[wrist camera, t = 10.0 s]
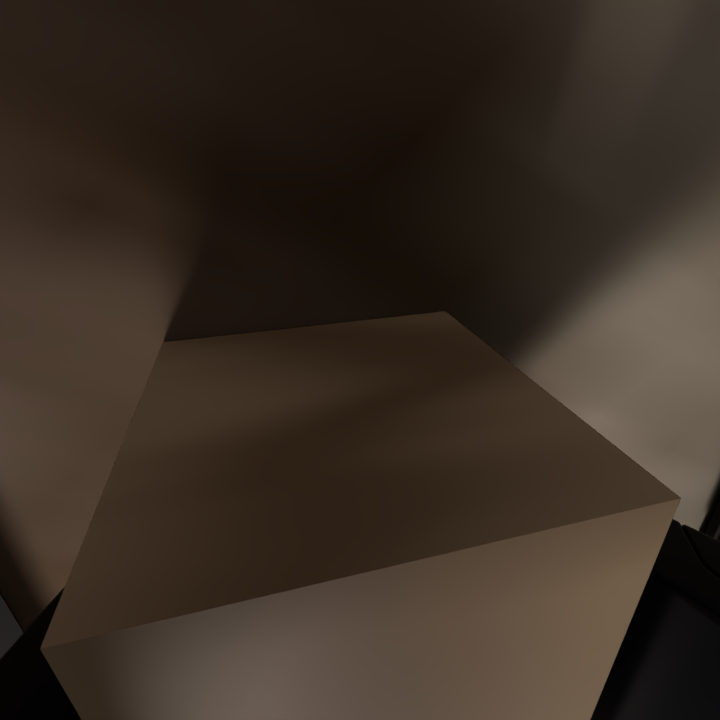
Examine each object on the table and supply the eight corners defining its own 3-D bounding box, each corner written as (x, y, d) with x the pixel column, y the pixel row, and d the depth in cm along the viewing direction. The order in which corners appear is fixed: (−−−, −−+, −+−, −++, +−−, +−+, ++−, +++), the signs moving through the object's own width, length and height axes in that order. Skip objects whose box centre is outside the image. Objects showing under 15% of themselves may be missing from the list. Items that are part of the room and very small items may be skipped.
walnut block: (445, 311, 8) (680, 498, 4) (431, 508, 10) (569, 769, 6) (162, 342, 7) (39, 648, 3) (215, 553, 9) (192, 907, 5)
